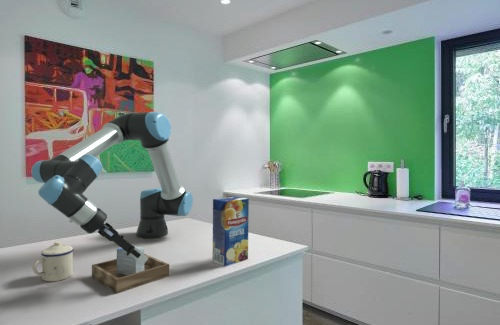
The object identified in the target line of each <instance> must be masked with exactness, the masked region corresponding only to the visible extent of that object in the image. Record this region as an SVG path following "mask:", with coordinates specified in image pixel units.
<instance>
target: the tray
mask: <svg viewBox="0 0 500 325" xmlns="http://www.w3.org/2000/svg"><path fill="white" fill-rule="evenodd" d="M144 255H145V256H146V257H148V260H147V261H146V262H145V263H144V271H141V272H137V273H134V274H131V275H122V274H117V258H115V259H110V260H105V261H102V262H99V263H94V264H92V265H91V277H92V278H93V279H94V280H96V281H98V282H100V283H101V284H102V285H103V286H104V287H106V288H108V289H110V290H111V291H113V292H114V293H116V294H119V293H122V292H125V291H127V290H133V289H134V288H138V287H141V286H143V285H147V284H149V283H152V282H155V281H158V280H162V279H164V278H168V277H170V264H169V263H167V262H165V261H163V260H160V259H158V258H155V257H153V256H152V255H148V254H146V253H144Z"/></svg>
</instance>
